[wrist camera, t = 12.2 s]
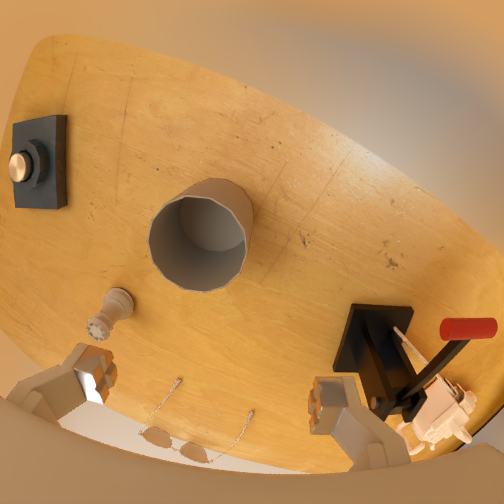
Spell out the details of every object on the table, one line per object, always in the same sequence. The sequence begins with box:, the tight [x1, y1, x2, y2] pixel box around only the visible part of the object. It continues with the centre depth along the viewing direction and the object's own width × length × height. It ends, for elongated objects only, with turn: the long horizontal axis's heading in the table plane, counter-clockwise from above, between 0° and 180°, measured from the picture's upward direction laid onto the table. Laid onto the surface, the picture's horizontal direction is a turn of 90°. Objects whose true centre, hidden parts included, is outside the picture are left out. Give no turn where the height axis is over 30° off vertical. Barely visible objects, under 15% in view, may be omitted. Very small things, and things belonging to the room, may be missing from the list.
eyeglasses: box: [139, 379, 253, 464], centre depth 45 cm, size 15×18×4 cm
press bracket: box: [333, 304, 428, 423], centre depth 32 cm, size 11×9×14 cm
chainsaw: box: [393, 326, 477, 455], centre depth 36 cm, size 15×35×12 cm, turn 47°
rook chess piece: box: [86, 288, 134, 342], centre depth 35 cm, size 4×4×8 cm
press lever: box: [389, 318, 498, 415], centre depth 23 cm, size 16×6×2 cm, turn 175°
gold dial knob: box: [9, 152, 34, 182], centre depth 27 cm, size 4×4×2 cm
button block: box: [9, 115, 67, 209], centre depth 30 cm, size 12×9×4 cm
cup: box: [147, 178, 254, 293], centre depth 29 cm, size 8×8×10 cm
